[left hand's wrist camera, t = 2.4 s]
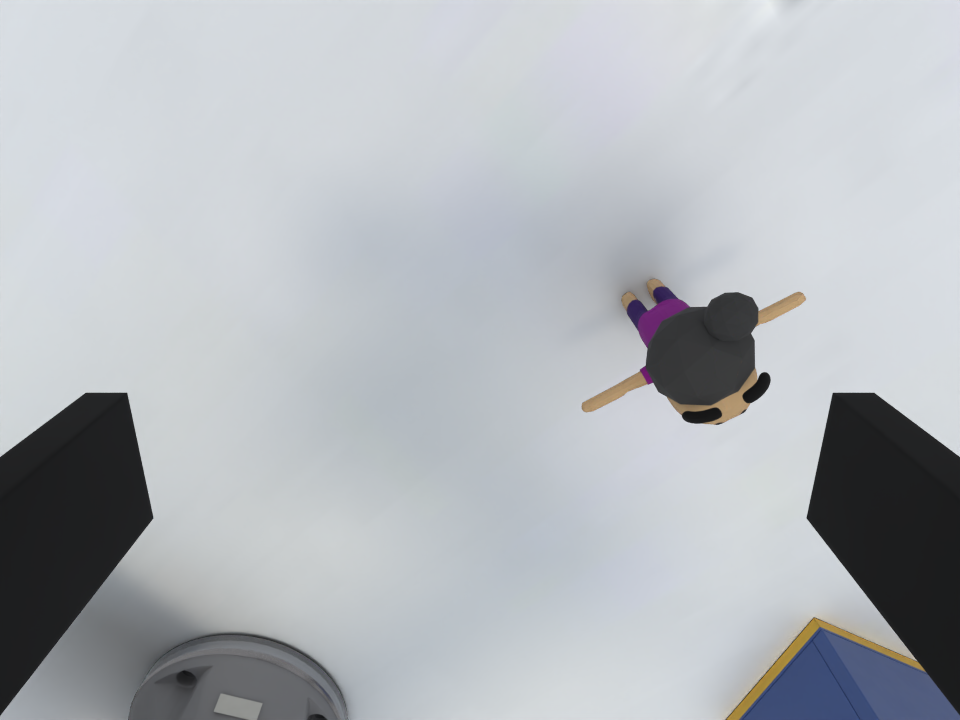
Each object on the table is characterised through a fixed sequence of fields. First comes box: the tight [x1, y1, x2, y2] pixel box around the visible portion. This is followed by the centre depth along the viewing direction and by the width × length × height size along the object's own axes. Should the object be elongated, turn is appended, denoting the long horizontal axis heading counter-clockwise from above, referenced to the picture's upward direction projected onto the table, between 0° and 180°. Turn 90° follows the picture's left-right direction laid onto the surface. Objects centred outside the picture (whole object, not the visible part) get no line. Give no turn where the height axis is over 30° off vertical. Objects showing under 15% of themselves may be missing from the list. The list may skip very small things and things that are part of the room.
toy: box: [582, 279, 806, 425], centre depth 31 cm, size 10×6×15 cm, turn 121°
